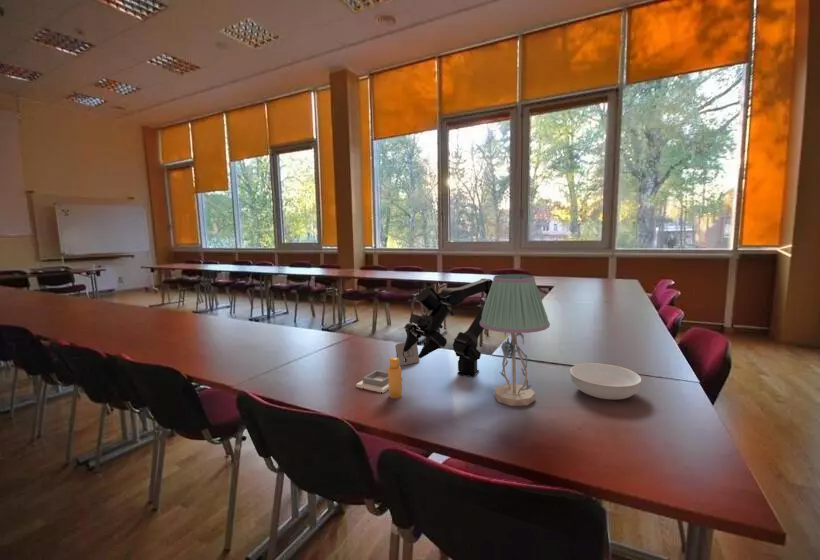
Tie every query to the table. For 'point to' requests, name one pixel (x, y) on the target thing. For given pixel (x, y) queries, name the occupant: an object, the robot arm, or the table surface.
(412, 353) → the electrical switch
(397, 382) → the orange bottle
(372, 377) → the plate
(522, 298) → the table lamp
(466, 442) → the table surface
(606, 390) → the serving bowl
